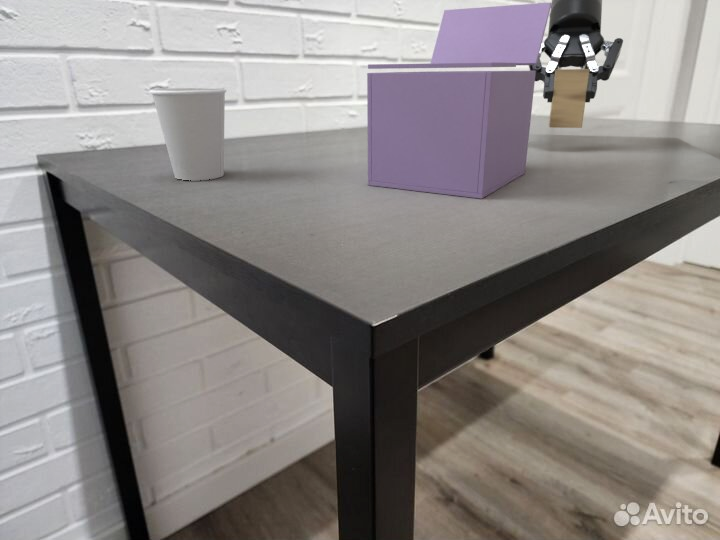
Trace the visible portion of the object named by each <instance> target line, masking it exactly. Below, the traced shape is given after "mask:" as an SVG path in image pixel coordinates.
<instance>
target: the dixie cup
mask: <svg viewBox="0 0 720 540" xmlns="http://www.w3.org/2000/svg"><path fill="white" fill-rule="evenodd" d="M226 92H227V89H226V88H225V87H215V86H214V87H209V86H208V87H206V86H205V87H204V86H203V87H166V88H163V87H162V88H153V89H151V90H149V94H150V95H152V99H153V102H154V106H155V109H156V113H157V117H158V120H159V121H158V122H159V124H160V128H161V131H162V135H163V139H164V143H165V146H166V150H167V154H168V157H169V160H170V164H171V168H172V171H173V175H174V178H177V179H182V180H181V181H183V180H189V181H188V182H197V181H200V180H201V181H209V179H210V180H215V179H219V178H221V177H223V176H224V173H225V171H224V170H225V105H226V104H225V103H226V102H225V101H226V100H225V99H226V97H225V96H226ZM177 179H176V180H177ZM190 180H191V181H190Z"/></svg>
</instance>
